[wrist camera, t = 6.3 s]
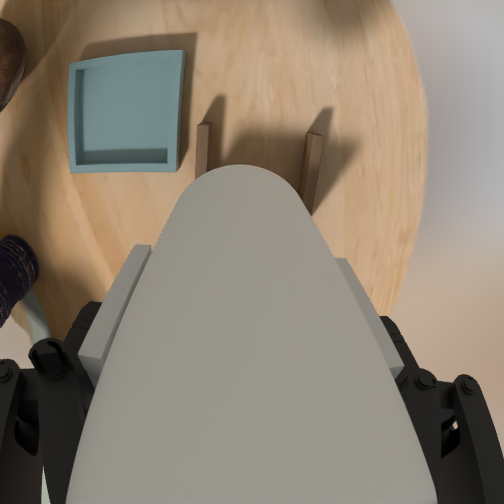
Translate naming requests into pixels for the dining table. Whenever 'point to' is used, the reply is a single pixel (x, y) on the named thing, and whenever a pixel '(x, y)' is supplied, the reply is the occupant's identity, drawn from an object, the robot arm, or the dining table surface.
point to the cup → (246, 369)
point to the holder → (308, 167)
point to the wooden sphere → (10, 61)
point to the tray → (126, 112)
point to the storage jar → (15, 273)
